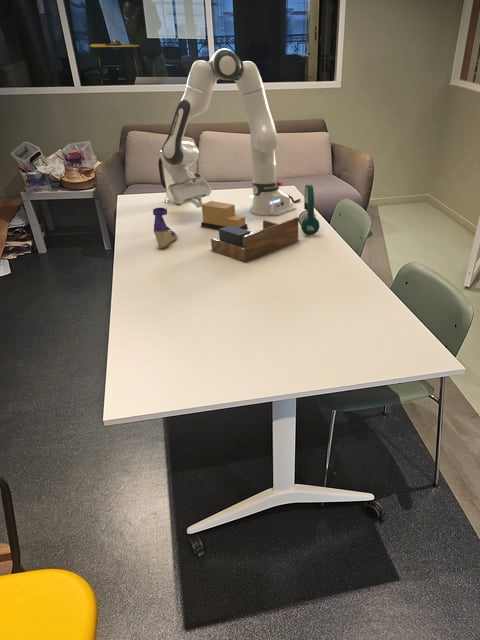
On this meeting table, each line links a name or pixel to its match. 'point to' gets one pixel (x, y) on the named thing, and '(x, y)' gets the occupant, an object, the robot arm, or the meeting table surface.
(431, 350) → the meeting table surface
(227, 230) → the dark grey block
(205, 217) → the tan stepped block
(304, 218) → the headphones
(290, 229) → the wooden corner tray
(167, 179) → the coffee press
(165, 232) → the purple and beige piece
